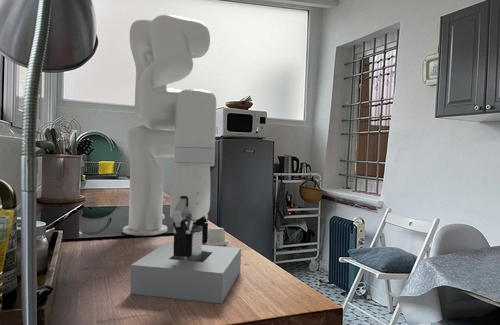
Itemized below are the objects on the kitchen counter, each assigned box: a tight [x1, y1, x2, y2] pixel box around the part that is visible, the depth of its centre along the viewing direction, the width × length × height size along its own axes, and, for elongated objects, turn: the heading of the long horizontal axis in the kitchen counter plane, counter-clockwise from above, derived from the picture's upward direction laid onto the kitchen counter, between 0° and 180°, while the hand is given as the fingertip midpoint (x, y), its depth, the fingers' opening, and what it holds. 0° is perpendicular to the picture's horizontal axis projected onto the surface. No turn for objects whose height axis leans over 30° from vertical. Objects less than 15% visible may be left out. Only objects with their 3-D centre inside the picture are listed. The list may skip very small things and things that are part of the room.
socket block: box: [130, 241, 242, 304], centre depth 69 cm, size 16×16×5 cm
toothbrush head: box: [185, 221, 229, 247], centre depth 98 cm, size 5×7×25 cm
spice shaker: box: [180, 224, 203, 262], centre depth 69 cm, size 4×4×9 cm
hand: (191, 248), depth 69 cm, fingers open, 9 cm apart
